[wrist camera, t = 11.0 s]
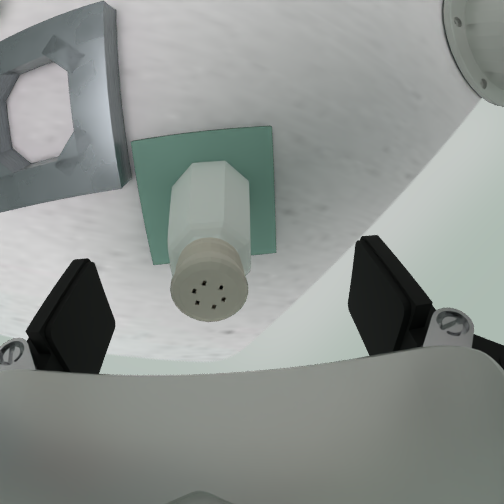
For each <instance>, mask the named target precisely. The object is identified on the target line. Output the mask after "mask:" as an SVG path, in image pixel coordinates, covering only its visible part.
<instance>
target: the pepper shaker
mask: <svg viewBox="0 0 504 504" xmlns="http://www.w3.org/2000/svg"><path fill="white" fill-rule="evenodd" d="M168 254H169V260H170V266H171V272H172V276H173V278H172V281H171V288H170V291H171V296H172V299H173V301H174V303H175V305H176V306H177V307H178V308H179V309H180V311H181V312H183V313H184V314H186V315H187V316H189V317H191V318H193V319H196V320H199V321H206V322H213V321H220V320H223V319H226V318H228V317H230V316H232V315H234V314H235V313H236V312H238V311H239V310H240V309H241V308H242V306H243V305H244V303H245V301H246V299H247V295H248V283H247V280H246V277H245V276H246V275H247V274H248V273H249V272H250V267H251V244H250V197H249V181H248V180H247V179H246V178H245V177H244V176H242V175H241V174H240V173H239V172H238V171H237V170H236V169H234V168H233V167H232V166H231V165H230V164H229V163H227V162H226V161H212V162H198V163H192V164H191V165H190V166H189V168H188V169H187V170H186V171H185V172H184V173H183V174H182V176H181V177H180V178H179V179H178V180H177V182H176V183H175V184H174V185H173V186H172V191H171V202H170V213H169V225H168Z"/></svg>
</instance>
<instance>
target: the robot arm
mask: <svg viewBox="0 0 504 504" xmlns="http://www.w3.org/2000/svg"><path fill="white" fill-rule="evenodd" d="M443 13H444V25H445V30H446V35H447V39H448V42H449V45H450V48H451V51H452V54H453V56H454V58H455V60H456V63H457V65H458V67H459V69H460V70H461V72H462V74H463V76H464V77H465V79H466V80H467V82H468V83H469V84H470V86H471V87H472V88H473V89H474V90H475V91H476V92H477V93H478V94H479V96H481V97H482V98H483V99H485V100H486V101H488V102H490V103H492V104H494V105H498V106H502V107H504V0H444V9H443ZM348 308H349V312H350V314H351V316H352V318H353V320H354V323H355V324H356V327H357V329H358V331H359V333H360V336H361V338H362V340H363V342H364V344H365V347H366V349H367V351H368V353H369V356H367V357H361V358H355V359H349V360H343V361H336V362H330V363H323V364H315V365H307V366H299V367H290V368H282V369H270V370H260V371H247V372H234V373H217V374H194V375H110V374H99V372H100V369H101V366H102V363H103V360H104V357H105V354H106V352H107V349H108V346H109V343H110V340H111V338H112V335H113V332H114V329H115V319H114V317H113V314H112V311H111V309H110V306H109V303H108V301H107V298H106V295H105V292H104V289H103V287H102V284H101V281H100V278H99V275H98V272H97V269H96V266H95V264H94V262H91V261H90V260H89V259H88V258H87V259H75V260H73V261H72V263H71V264H70V265H69V267H68V268H67V269H66V271H65V272H64V274H63V275H62V276H61V278H60V279H59V281H58V282H57V284H56V285H55V286H54V288H53V289H52V291H51V292H50V294H49V295H48V297H47V298H46V300H45V301H44V303H43V304H42V306H41V307H40V309H39V311H38V312H37V314H36V315H35V317H34V318H33V320H32V322H31V323H30V325H29V326H28V328H27V330H26V333H27V335H28V337H29V338H28V340H27V341H26V340H24V339H23V338H13V339H11V340H8V341H7V342H5V343H4V344H2V345H1V346H0V504H504V345H501V344H498V343H495V342H493V341H490V340H487V339H485V338H483V337H480V336H477V335H475V334H473V333H474V325H473V323H472V321H471V319H470V318H469V317H468V316H467V315H466V314H465V313H463V312H462V311H459V310H457V309H453V308H441V309H438V310H437V311H436V310H435V308H434V307H433V306H432V301H431V300H430V299H429V297H428V296H427V295H426V293H425V292H424V291H423V290H422V288H421V287H420V286H419V285H418V283H417V282H416V281H415V279H414V278H413V277H412V276H411V274H410V273H409V272H408V271H407V270H406V268H405V267H404V266H403V265H402V264H401V262H400V261H399V260H398V259H397V257H396V256H395V255H394V254H393V253H392V251H391V250H390V249H389V248H388V247H387V246H386V244H385V243H384V242H383V241H382V240H381V239H380V237H379V236H377V235H372V236H362V237H361V239H360V240H359V241H356V245H355V254H354V262H353V270H352V278H351V285H350V292H349V299H348Z"/></svg>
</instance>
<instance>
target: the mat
mask: <svg viewBox="0 0 504 504" xmlns="http://www.w3.org/2000/svg"><path fill="white" fill-rule="evenodd" d="M131 146H132V153H133V160H134V166H135V173H136V179H137V185H138V191H139V196H140V202H141V207H142V213H143V218H144V223H145V228H146V233H147V238H148V242H149V247H150V252H151V256H152V261H153V265H159V264H170V260H169V254H168V225H169V213H170V202H171V191H172V186H173V185H174V184H175V183H176V182H177V180H178V179H179V178H180V177H181V176H182V174H183V173H184V172H185V171H186V170H187V169H188V168H189V166H190V165H191V164H192V163H198V162H212V161H226V162H227V163H229V164H230V165H231V166H232V167H233V168H234V169H236V170H237V171H238V172H239V173H240V174H241V175H242V176H244V177H245V178H246V179H247V180H248V181H249V197H250V244H251V255H260V254H269V253H276V226H275V194H274V167H273V143H272V127H271V126H258V127H243V128H230V129H219V130H208V131H199V132H190V133H182V134H175V135H167V136H160V137H154V138H147V139H141V140H135V141H132V142H131Z"/></svg>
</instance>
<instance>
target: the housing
mask: <svg viewBox="0 0 504 504" xmlns="http://www.w3.org/2000/svg"><path fill="white" fill-rule="evenodd" d="M51 62H55V63H56V64H58V65H59V66H60V67H62V68H63V69H65V70H66V71H68V83H69V94H70V103H71V112H72V120H73V128H74V132H73V134H72V135H71V137H70V139H69V140H68V142H67V144H66V145H65V147H64V149H63V151H62V153H61V154H60V156H59V157H55V158H51V159H47V160H44V161H40V162H36V163H33V164H31V163H29V162H28V161H27V160H26V159H24V158H23V157H22V156H21V155H19V154H18V153H17V152H16V151H15V150H13V149H12V144H11V138H10V131H9V124H8V116H7V107H6V100H7V98H8V96H9V94H10V92H11V90H12V88H13V86H14V84H15V82H16V81H17V79H18V77H19V75H20V74H23V73H25V72H27V71H30V70H32V69H35V68H37V67H40V66H43V65H45V64H48V63H51ZM131 178H132V177H131V171H130V165H129V158H128V151H127V144H126V137H125V129H124V121H123V113H122V104H121V94H120V83H119V70H118V55H117V36H116V10H115V9H113V8H112V7H111V6H110V5H108V4H107V3H106V2H104V1H101V2H97V3H94V4H91V5H87V6H84V7H81V8H78V9H75V10H72V11H69V12H67V13H64V14H61V15H58V16H56V17H53V18H51V19H48V20H46V21H43V22H41V23H38V24H36V25H34V26H32V27H29V28H27V29H25V30H23V31H21V32H19V33H16V34H14V35H12V36H10V37H8V38H6V39H4V40H2V41H1V42H0V213H1V212H5V211H9V210H13V209H17V208H22V207H26V206H31V205H35V204H40V203H45V202H49V201H54V200H59V199H64V198H70V197H75V196H80V195H86V194H91V193H97V192H103V191H109V190H115V189H121V188H122V187H123V186H124V185H125V184H126V183H127V182H128V181H129V180H130V179H131Z"/></svg>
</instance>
